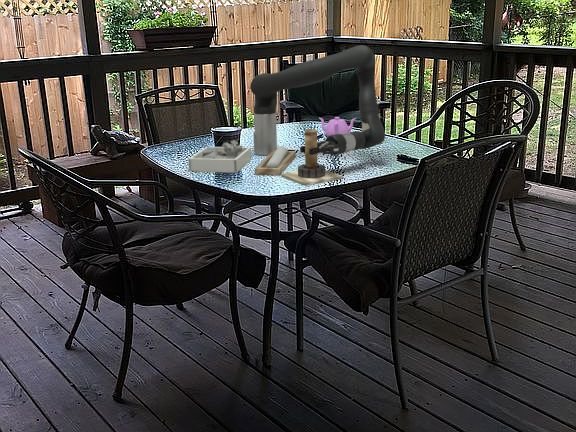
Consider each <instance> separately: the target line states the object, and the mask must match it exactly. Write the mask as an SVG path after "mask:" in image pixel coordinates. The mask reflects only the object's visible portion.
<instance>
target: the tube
mask: <svg viewBox="0 0 576 432" xmlns="http://www.w3.org/2000/svg"><path fill="white" fill-rule="evenodd" d="M288 151H289V150H288V149H287V147H285V146H278V145H277V149H276V150H275V153H274V154H273V156H272V157H271V159H270V160H269V161H268V163H267V164H266V168H277V167H278V166H279V165H280V164H281V163H282V161H283V160H284V159H285V158H286V156H287V155H288Z"/></svg>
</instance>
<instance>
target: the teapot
mask: <svg viewBox="0 0 576 432" xmlns="http://www.w3.org/2000/svg"><path fill="white" fill-rule="evenodd" d="M318 118H319V120H320V121H321V129H322V131H323V132H324V133H325V135H326V137H328V136H330V135H335V134H340V133H349V132H352V131H351V130H352V129H353V127H354V121H355V120H356V119H357V117H355V118H352V119H351V121H350V124H349V125H348V124H347V122H346V121H345V119H343V118H340V116H335V117H334V118H332V119H330V120H328V123H327V124H326V125H325V120H324V118H322V117H318Z"/></svg>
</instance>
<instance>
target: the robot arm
mask: <svg viewBox="0 0 576 432" xmlns="http://www.w3.org/2000/svg"><path fill="white" fill-rule="evenodd" d="M352 69H355V72H356V74H357V79H358V83H359V95H358V106H359V107H358V108H359V116H360V121H361V123H362V122H363V123H365V124H369V127H370V128H369V129H367V130H364V131H362V130H361V131H358V130H357V131H349V133H340V134H335V135H330V136H326V139H325V140H320V141H317V147H315V148H310V149H309V154H310V155H314V154H317V155H318V154H319V155H322V154H323V155H330V156H338V155H342V154H347V153H349V152H353V151H358V150H366V149H370V148H373V147H375V146H379V145H381V144H382V143H383V142H384V140H385V139H386V138H385V137H386V131H385V128H384V126H383V123H382V121H381V117H380V118H379V115H378V106H377V102H378V101H377V93H376V81H375V80H376V77H375V76H376V75H375V74H376V56H375V54H374V51H372V49H371V48H370V47H369V46H367V45H364V44H363V45H362V44H360V45H355V46H352V47H350V48H348V49H346V50H343V51H340V52H337V53H335V54H331V55H327V56H323V57H322V56H321V57H318V58H315V59H310V60H307V61H304V62H301V63H298V64H295V65H292V66H291V67H289V68H286V69H284V70H281V71H278V72H273V73H268V72H263V73H260V74H258V75H256V76H254V78H252V80H251V82H250V86H249V87H250V91H251V93H252V94H253V95H254V96H255V103H254V106H253V119H254V121H253V122H254V131H253V132H252V133H253V152H254V153H253V154H254V155H258V156H268V155H269V154H270V153H271V152H272V151H275V150H276V149H277V148H278V136H277V135H278V132H277V129H278V128H277V105H278V92H281V91H285V90H288V89H289V90H290V89H297V88H301V87H302V88H303V87H306V86H311V85H314V84H317V83H318V84H319V83H322V82H324V81H326V80H328V79H329V78H331V77H332V76H334V75H335V74H338V73H340V72H343V71H347V70H352ZM299 152H300V153H304V154H305V145H302V146H300V148H299Z"/></svg>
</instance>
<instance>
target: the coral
mask: <svg viewBox="0 0 576 432" xmlns="http://www.w3.org/2000/svg"><path fill="white" fill-rule="evenodd" d="M221 147H224V148H225V149H224V151H225V152H226V154H225V153H222V151H221V150H219V149H209V150H205V151H204V152H203V154H202V157H201V159H235V158H236V157H238V153H239V152H241V151H242V147H243V145H241V144H239V142H238V141H237V140H235V139H234V140H233V139H232V140H231V141H230V143H229V142H228V141H226V142H223V144H221Z"/></svg>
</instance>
